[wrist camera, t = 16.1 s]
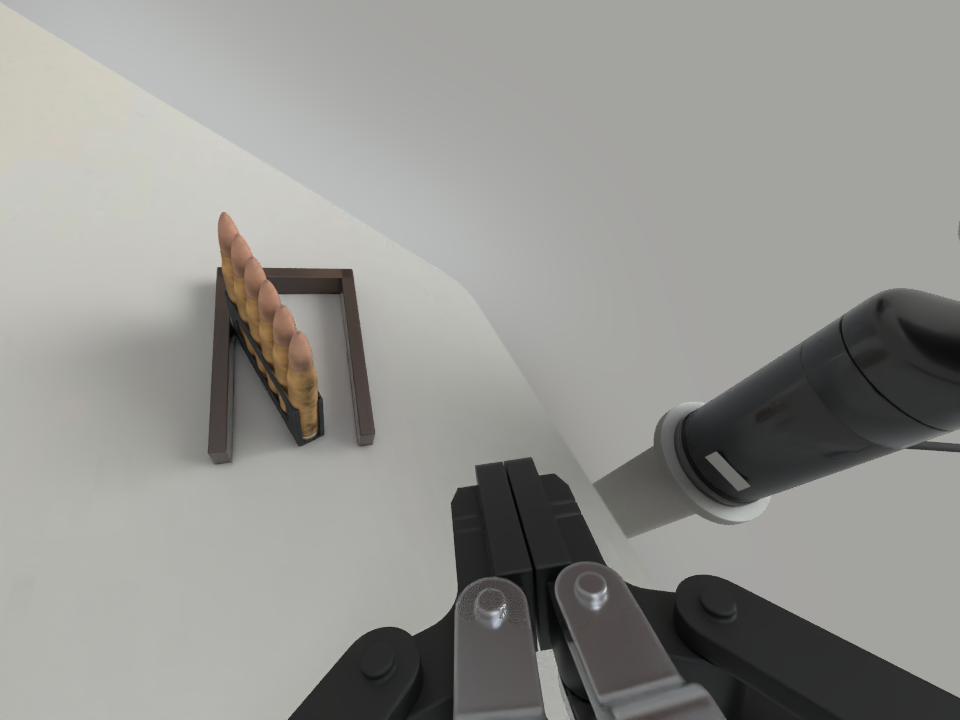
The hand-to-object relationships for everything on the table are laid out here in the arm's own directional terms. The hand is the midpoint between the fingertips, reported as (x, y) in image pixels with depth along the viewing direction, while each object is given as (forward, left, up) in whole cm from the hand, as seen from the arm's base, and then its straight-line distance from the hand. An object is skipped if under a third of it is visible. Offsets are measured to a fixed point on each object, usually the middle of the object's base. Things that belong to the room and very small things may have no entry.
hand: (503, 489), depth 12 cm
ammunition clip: (+7, -15, -20) cm, 26 cm away
